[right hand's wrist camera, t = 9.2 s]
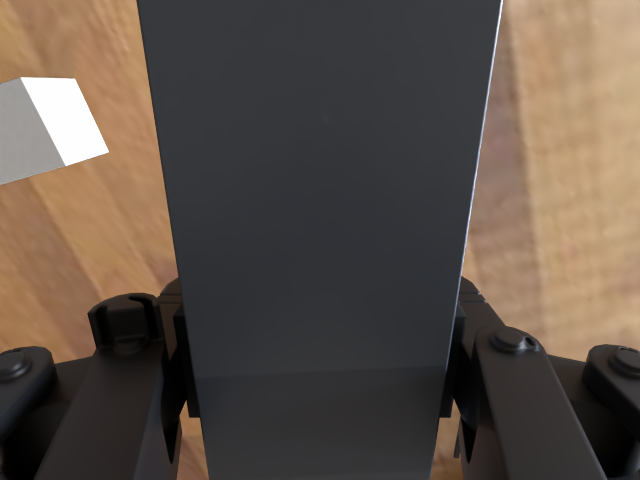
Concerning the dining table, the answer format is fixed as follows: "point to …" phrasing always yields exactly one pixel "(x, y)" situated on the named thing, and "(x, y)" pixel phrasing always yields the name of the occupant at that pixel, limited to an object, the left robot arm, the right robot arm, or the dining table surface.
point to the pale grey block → (44, 127)
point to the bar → (319, 220)
